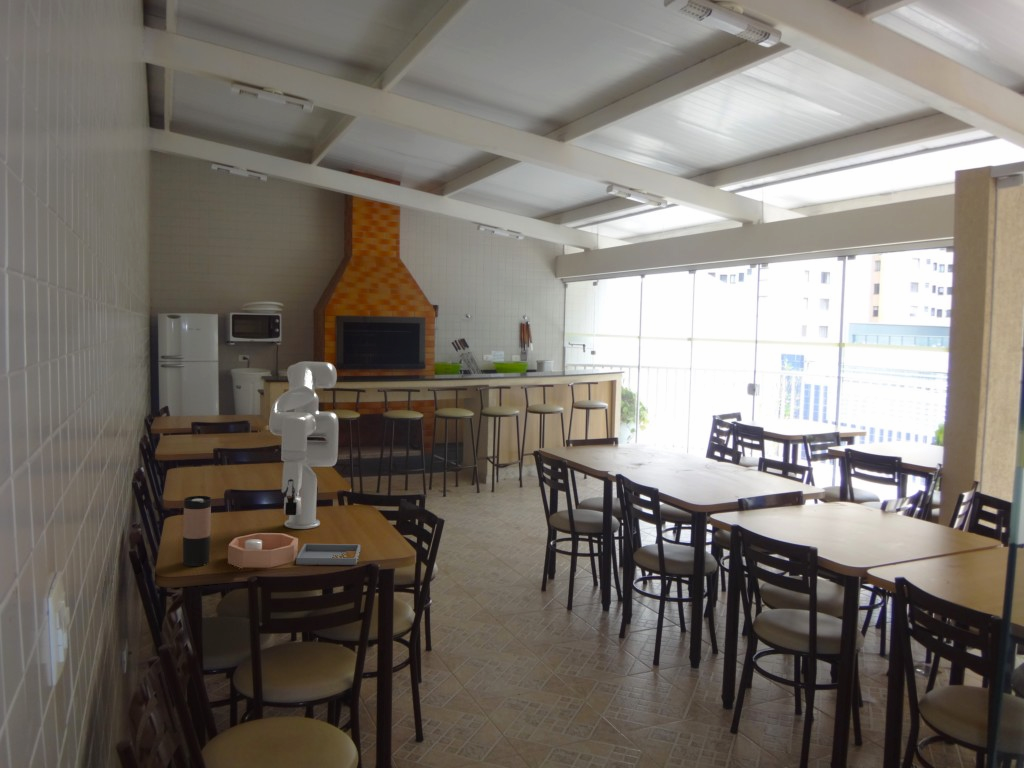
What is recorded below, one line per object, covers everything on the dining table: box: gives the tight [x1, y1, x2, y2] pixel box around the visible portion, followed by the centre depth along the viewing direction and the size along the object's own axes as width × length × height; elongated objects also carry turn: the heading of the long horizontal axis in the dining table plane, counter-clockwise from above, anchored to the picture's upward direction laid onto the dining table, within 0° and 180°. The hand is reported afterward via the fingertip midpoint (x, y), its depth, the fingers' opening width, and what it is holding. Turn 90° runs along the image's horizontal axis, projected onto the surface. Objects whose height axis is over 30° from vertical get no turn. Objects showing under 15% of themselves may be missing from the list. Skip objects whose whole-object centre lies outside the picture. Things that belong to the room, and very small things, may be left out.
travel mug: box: [182, 495, 212, 567], centre depth 218 cm, size 8×8×20 cm
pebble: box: [283, 496, 301, 516], centre depth 225 cm, size 5×5×5 cm
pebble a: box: [245, 539, 262, 550], centre depth 225 cm, size 5×5×5 cm
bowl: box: [227, 532, 299, 570], centre depth 225 cm, size 20×20×6 cm
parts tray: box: [295, 543, 361, 566], centre depth 229 cm, size 15×18×3 cm
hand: (292, 512), depth 226 cm, fingers closed on pebble, 4 cm apart
